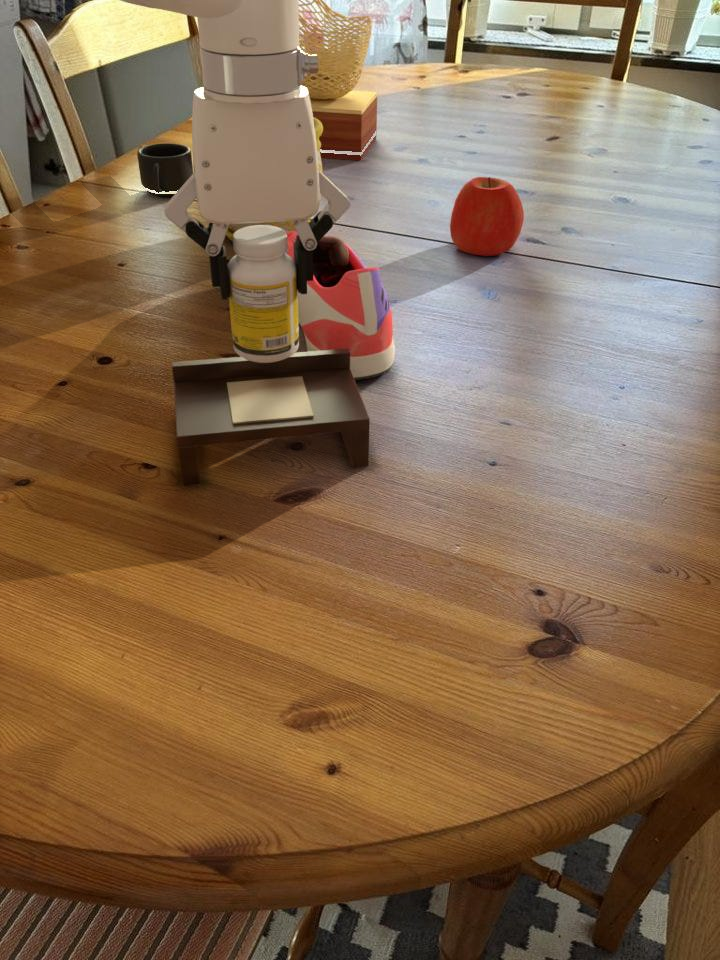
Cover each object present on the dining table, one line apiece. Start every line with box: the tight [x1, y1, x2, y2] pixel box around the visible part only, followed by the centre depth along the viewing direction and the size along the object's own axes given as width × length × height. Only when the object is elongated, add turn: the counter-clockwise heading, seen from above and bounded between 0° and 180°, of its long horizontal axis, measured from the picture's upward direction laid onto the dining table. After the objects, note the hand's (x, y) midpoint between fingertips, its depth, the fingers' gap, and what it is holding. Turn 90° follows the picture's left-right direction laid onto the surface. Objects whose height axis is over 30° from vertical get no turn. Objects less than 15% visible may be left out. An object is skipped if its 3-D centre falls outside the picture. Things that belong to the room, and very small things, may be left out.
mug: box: [136, 142, 194, 198], centre depth 147 cm, size 12×9×7 cm
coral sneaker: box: [286, 231, 396, 381], centre depth 106 cm, size 12×36×13 cm, turn 24°
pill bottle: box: [227, 225, 300, 363], centre depth 77 cm, size 6×6×11 cm
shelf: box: [171, 348, 371, 486], centre depth 85 cm, size 18×11×7 cm, turn 101°
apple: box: [449, 176, 525, 257], centre depth 128 cm, size 11×11×11 cm
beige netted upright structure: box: [298, 0, 378, 162], centre depth 166 cm, size 25×18×35 cm
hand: (262, 289), depth 77 cm, fingers closed on pill bottle, 6 cm apart
